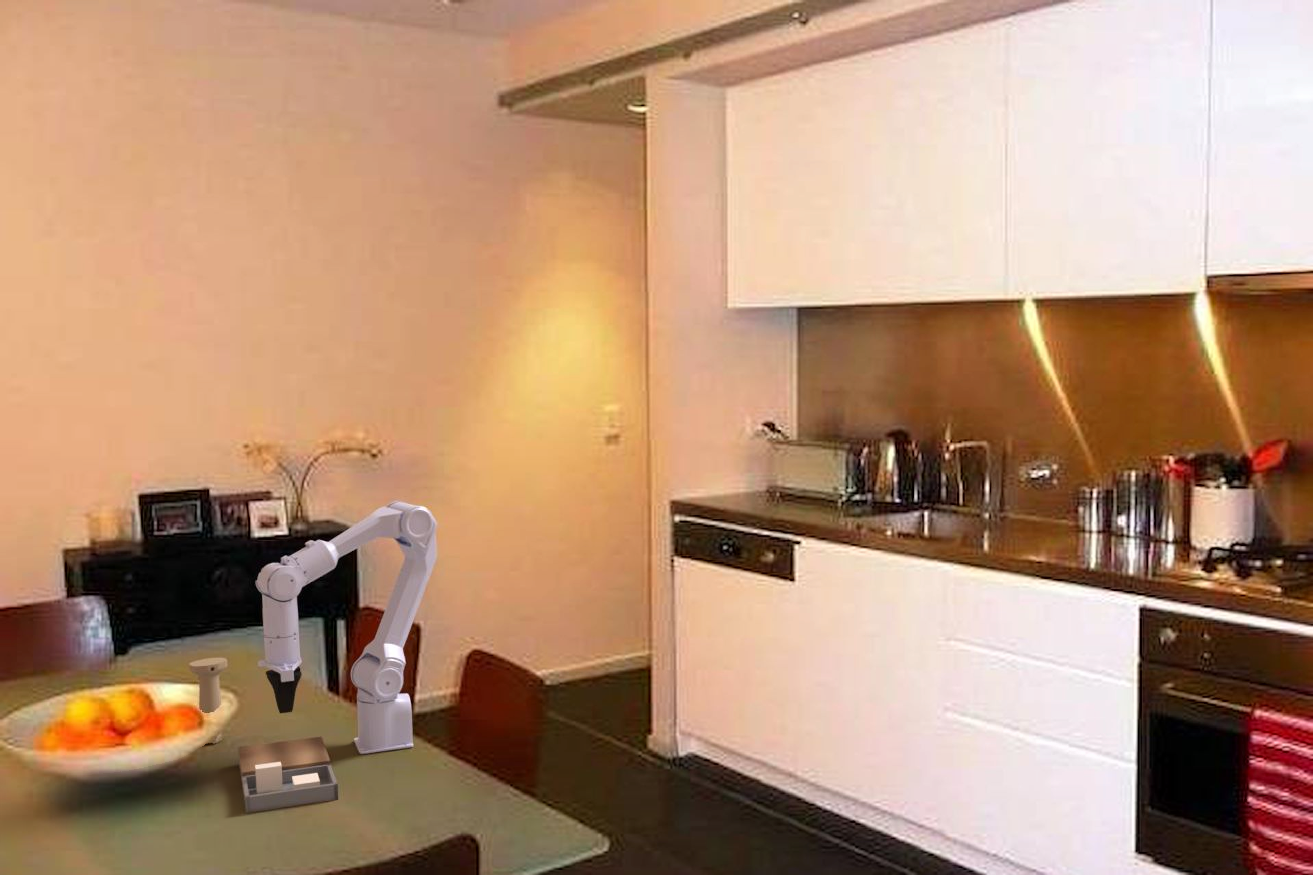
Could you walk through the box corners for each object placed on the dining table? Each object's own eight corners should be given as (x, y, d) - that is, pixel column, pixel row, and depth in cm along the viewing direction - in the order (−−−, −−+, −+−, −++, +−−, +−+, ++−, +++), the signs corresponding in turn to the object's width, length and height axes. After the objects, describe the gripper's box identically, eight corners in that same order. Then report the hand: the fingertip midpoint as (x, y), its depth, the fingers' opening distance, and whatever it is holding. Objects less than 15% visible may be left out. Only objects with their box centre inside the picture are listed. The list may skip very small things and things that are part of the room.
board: (322, 752, 217) (321, 736, 217) (330, 777, 205) (330, 760, 205) (238, 764, 212) (238, 747, 212) (242, 790, 200) (241, 772, 200)
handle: (234, 741, 224) (230, 661, 222) (198, 749, 220) (194, 667, 218) (225, 734, 228) (221, 655, 226) (190, 742, 224) (186, 662, 222)
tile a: (319, 780, 197) (320, 793, 197) (317, 772, 201) (317, 784, 201) (294, 784, 196) (294, 796, 196) (291, 776, 199) (292, 788, 199)
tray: (331, 778, 205) (330, 763, 205) (338, 799, 196) (337, 784, 196) (242, 790, 200) (242, 776, 200) (246, 812, 191) (245, 797, 191)
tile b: (280, 761, 200) (281, 765, 199) (281, 785, 201) (282, 789, 199) (254, 765, 199) (255, 769, 197) (256, 788, 199) (256, 793, 197)
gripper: (253, 626, 214) (257, 702, 215) (260, 647, 200) (264, 727, 202) (295, 622, 216) (299, 697, 218) (304, 641, 203) (308, 721, 204)
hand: (285, 711), depth 210 cm, fingers closed
